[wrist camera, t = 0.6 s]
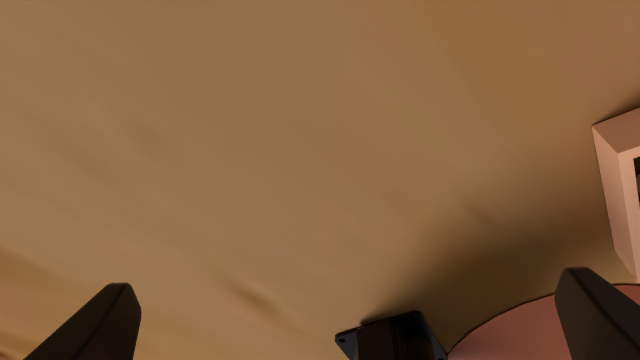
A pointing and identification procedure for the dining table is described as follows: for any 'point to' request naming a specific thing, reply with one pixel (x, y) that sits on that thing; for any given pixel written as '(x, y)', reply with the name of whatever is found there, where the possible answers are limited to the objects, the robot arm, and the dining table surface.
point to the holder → (621, 183)
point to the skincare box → (638, 183)
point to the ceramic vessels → (523, 333)
